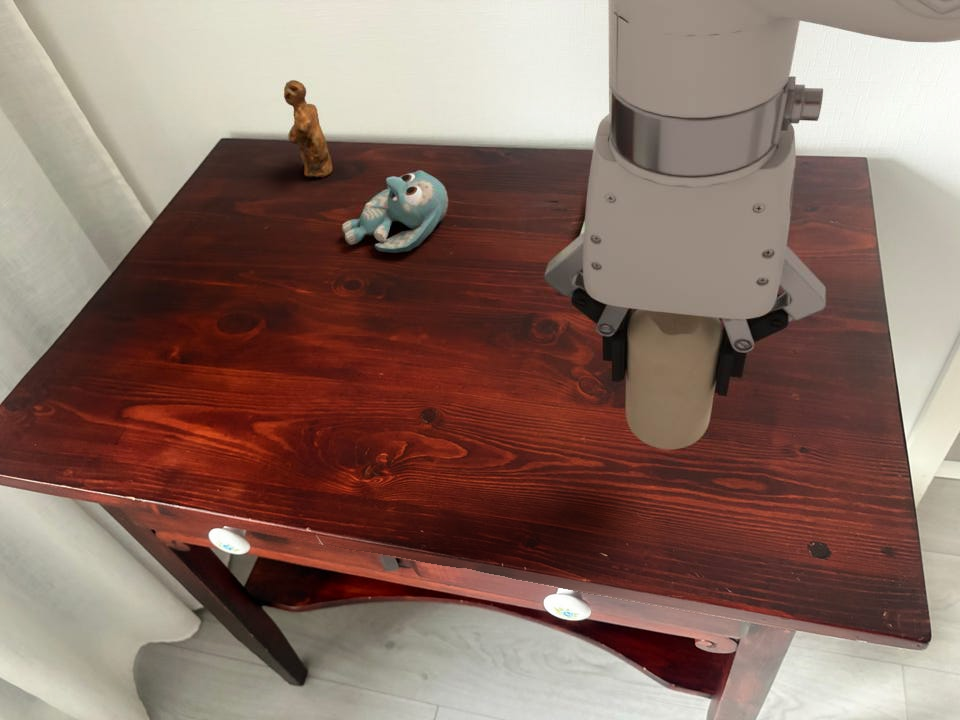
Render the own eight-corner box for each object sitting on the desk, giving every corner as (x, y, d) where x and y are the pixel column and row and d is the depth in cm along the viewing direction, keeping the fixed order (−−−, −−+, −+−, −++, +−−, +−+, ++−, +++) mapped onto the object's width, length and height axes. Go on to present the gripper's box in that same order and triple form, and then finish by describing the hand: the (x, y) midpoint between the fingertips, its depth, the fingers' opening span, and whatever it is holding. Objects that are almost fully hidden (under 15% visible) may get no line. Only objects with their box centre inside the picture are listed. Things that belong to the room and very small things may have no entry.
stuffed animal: (318, 179, 81) (419, 132, 81) (346, 226, 87) (440, 182, 86) (336, 237, 74) (446, 186, 74) (365, 285, 80) (468, 237, 79)
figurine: (290, 182, 91) (257, 91, 82) (316, 156, 94) (287, 65, 85) (321, 189, 89) (291, 97, 80) (347, 162, 93) (321, 70, 84)
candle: (621, 445, 50) (622, 343, 42) (630, 381, 53) (632, 277, 46) (707, 455, 48) (724, 352, 41) (711, 389, 52) (727, 282, 44)
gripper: (900, 72, 34) (818, 344, 47) (528, 65, 38) (550, 314, 52) (912, 171, 29) (818, 441, 42) (488, 149, 34) (524, 398, 47)
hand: (671, 369), depth 47 cm, fingers closed on candle, 5 cm apart
